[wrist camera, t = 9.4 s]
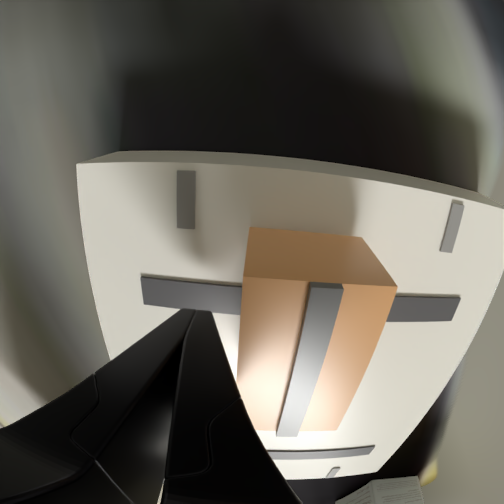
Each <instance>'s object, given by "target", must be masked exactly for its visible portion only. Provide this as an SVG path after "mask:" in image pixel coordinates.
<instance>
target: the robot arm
mask: <svg viewBox="0 0 504 504" xmlns="http://www.w3.org/2000/svg"><path fill="white" fill-rule="evenodd" d="M164 479H165V480H164ZM163 480H164V485H163V492H162V498H161V503H160V504H303V503H302V502H301V501H300V499H299V498H298V497H297V495H296V494H295V493H294V491H293V490H292V489H291V487H290V486H289V484H288V483H287V481H286V480H285V478H284V477H283V475H282V474H281V472H280V470H279V469H278V467H277V466H276V464H275V463H274V461H273V460H272V458H271V456H270V455H269V453H268V452H267V450H266V448H265V447H264V445H263V443H262V441H261V440H260V438H259V436H258V434H257V432H256V430H255V429H254V426H253V424H252V422H251V420H250V417H249V415H248V413H247V410H246V408H245V405H244V402H243V400H242V399H241V395H240V392H239V389H238V387H237V384H236V381H235V378H234V375H233V373H232V370H231V367H230V364H229V361H228V358H227V356H226V353H225V350H224V347H223V344H222V341H221V338H220V335H219V332H218V329H217V326H216V323H215V320H214V317H213V314H212V312H211V311H208V310H196V309H188V308H182V309H180V310H179V311H177V312H176V313H175V314H173V315H172V316H171V317H169V318H168V319H167V320H165V321H164V322H163V323H161V324H160V325H159V326H157V327H156V328H154V329H153V330H152V331H150V332H149V333H148V334H146V335H145V336H144V337H142V338H141V339H140V340H138V341H137V342H135V343H134V344H133V345H131V346H130V347H129V348H127V349H126V350H125V351H123V352H122V353H121V354H119V355H118V356H116V357H115V358H114V359H112V360H111V361H110V362H108V363H107V364H106V365H104V366H103V367H102V368H100V369H99V370H97V371H96V372H95V375H94V374H92V375H90V376H89V377H88V378H86V379H85V380H84V381H82V382H81V383H79V384H78V385H76V386H75V387H74V388H72V389H71V390H69V391H68V392H66V393H65V394H63V395H61V396H60V397H58V398H56V399H55V400H53V401H51V402H50V403H48V404H46V405H45V406H43V407H41V408H39V409H38V410H36V411H34V412H32V413H30V414H29V415H27V416H25V417H23V418H21V419H20V420H18V421H16V422H14V423H12V424H10V425H8V426H6V427H3V428H0V504H157V502H158V498H159V495H160V491H161V487H162V484H163Z"/></svg>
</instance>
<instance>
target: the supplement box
mask: <svg viewBox="0 0 504 504" xmlns="http://www.w3.org/2000/svg"><path fill="white" fill-rule="evenodd" d="M335 504H425V503H424V498H423V494H422V490H421V487H420V483H419V479H418V476H411V477H401V478H391V479H377V480H371V481H370V482H369V483H368V484H366V485H365V486H363V487H362V488H360V489H358V490H357V491H355V492H353V493H351V494H350V495H348V496H346V497H344V498H342V499H340V500H338V501H336V502H335Z"/></svg>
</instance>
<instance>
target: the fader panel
mask: <svg viewBox="0 0 504 504" xmlns="http://www.w3.org/2000/svg"><path fill="white" fill-rule="evenodd" d="M76 166H77V183H78V196H79V207H80V217H81V225H82V233H83V240H84V247H85V253H86V259H87V265H88V271H89V276H90V281H91V286H92V291H93V295H94V300H95V304H96V309H97V313H98V317H99V321H100V325H101V329H102V332H103V336H104V340H105V343H106V347H107V350H108V354H109V357H110V360H112V359H114V358H115V357H116V356H118V355H119V354H121V353H122V352H123V351H125V350H126V349H127V348H129V347H130V346H131V345H133V344H134V343H135V342H137V341H138V340H140V339H141V338H142V337H144V336H145V335H146V334H148V333H149V332H150V331H152V330H153V329H154V328H156V327H157V326H159V325H160V324H161V323H163V322H164V321H165V320H167V319H168V318H169V317H171V316H172V315H173V314H175V313H176V312H177V311H179V310H180V309H182V308H188V309H196V310H208V311H211V312H212V314H213V317H214V320H215V323H216V326H217V329H218V332H219V335H220V338H221V341H222V344H223V347H224V350H225V353H226V356H227V358H228V361H229V364H230V367H231V370H232V373H233V375H234V378H235V381H236V377H237V361H238V345H239V330H240V314H241V299H242V284H243V273H244V265H245V257H246V249H247V242H248V234H249V227H258V228H270V229H281V230H293V231H304V232H315V233H325V234H336V235H346V236H356V237H362V238H363V240H364V241H365V242H366V244H367V245H368V246H369V248H370V249H371V250H372V252H373V253H374V254H375V256H376V257H377V258H378V260H379V261H380V262H381V264H382V265H383V266H384V268H385V269H386V271H387V272H388V273H389V275H390V276H391V278H392V279H393V280H394V282H395V283H396V285H397V286H398V288H397V291H396V294H395V297H394V300H393V303H392V306H391V309H390V312H389V315H388V317H387V320H386V323H385V325H384V328H383V331H382V333H381V336H380V338H379V341H378V343H377V346H376V348H375V351H374V353H373V356H372V358H371V360H370V363H369V365H368V367H367V369H366V372H365V374H364V376H363V378H362V381H361V383H360V385H359V387H358V389H357V391H356V393H355V395H354V397H353V399H352V401H351V404H350V406H349V407H348V409H347V411H346V413H345V415H344V417H343V419H342V421H341V423H340V425H339V427H338V428H337V430H334V431H299V433H298V436H297V437H276V431H262V430H256V432H257V434H258V436H259V438H260V440H261V441H262V443H263V445H264V447H265V448H266V450H267V452H268V453H269V455H270V456H271V458H272V460H273V461H274V463H275V464H276V466H277V467H278V469H279V470H280V472H281V474H282V475H283V477H284V478H285V479H315V478H333V477H341V476H350V475H358V474H366V473H372V472H377V471H378V470H379V469H380V468H381V467H382V466H383V465H384V464H385V462H386V461H387V460H388V459H389V458H390V457H391V456H392V455H393V454H394V453H395V451H396V450H397V449H398V448H399V447H400V446H401V444H402V443H403V442H404V441H405V440H406V438H407V437H408V436H409V435H410V434H411V432H412V431H413V430H414V429H415V427H416V426H417V425H418V424H419V422H420V421H421V420H422V418H423V417H424V416H425V414H426V413H427V412H428V410H429V409H430V407H431V406H432V405H433V403H434V402H435V400H436V399H437V397H438V396H439V395H440V393H441V392H442V390H443V389H444V387H445V386H446V384H447V382H448V381H449V379H450V378H451V376H452V375H453V373H454V371H455V370H456V368H457V366H458V365H459V363H460V361H461V360H462V358H463V356H464V354H465V353H466V351H467V349H468V347H469V345H470V343H471V342H472V340H473V338H474V336H475V334H476V332H477V330H478V328H479V326H480V324H481V322H482V320H483V318H484V316H485V313H486V311H487V309H488V307H489V305H490V302H491V300H492V298H493V296H494V293H495V291H496V288H497V285H498V283H499V281H500V278H501V276H502V273H503V270H504V205H502V204H501V203H499V202H497V201H495V200H493V199H491V198H489V197H486V196H484V195H482V194H480V193H478V192H475V191H471V190H467V189H463V188H460V187H456V186H452V185H448V184H444V183H439V182H435V181H431V180H426V179H422V178H417V177H412V176H408V175H403V174H398V173H392V172H387V171H382V170H376V169H370V168H364V167H358V166H352V165H345V164H338V163H331V162H324V161H316V160H308V159H299V158H290V157H280V156H269V155H257V154H243V153H227V152H205V151H118V152H115V153H111V154H107V155H104V156H100V157H97V158H94V159H90V160H87V161H84V162H81V163H78V164H76Z"/></svg>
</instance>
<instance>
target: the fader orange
mask: <svg viewBox="0 0 504 504" xmlns="http://www.w3.org/2000/svg"><path fill="white" fill-rule="evenodd" d="M397 288H398V286H397V285H396V283H395V282H394V280H393V279H392V278H391V276H390V275H389V273H388V272H387V271H386V269H385V268H384V266H383V265H382V264H381V262H380V261H379V260H378V258H377V257H376V256H375V254H374V253H373V252H372V250H371V249H370V248H369V246H368V245H367V244H366V242H365V241H364V240H363V238H362V237H356V236H346V235H336V234H325V233H315V232H304V231H293V230H281V229H270V228H258V227H249V234H248V242H247V249H246V257H245V265H244V273H243V284H242V299H241V314H240V330H239V345H238V361H237V377H236V384H237V387H238V389H239V392H240V395H241V399H242V400H243V402H244V405H245V408H246V410H247V413H248V415H249V417H250V420H251V422H252V424H253V426H254V429H255V430H262V431H276V437H297V436H298V433H299V431H334V430H337V428H338V427H339V425H340V423H341V421H342V419H343V417H344V415H345V413H346V411H347V409H348V407H349V406H350V404H351V401H352V399H353V397H354V395H355V393H356V391H357V389H358V387H359V385H360V383H361V381H362V378H363V376H364V374H365V372H366V369H367V367H368V365H369V363H370V360H371V358H372V356H373V353H374V351H375V348H376V346H377V343H378V341H379V338H380V336H381V333H382V331H383V328H384V325H385V323H386V320H387V317H388V315H389V312H390V309H391V306H392V303H393V300H394V297H395V294H396V291H397Z"/></svg>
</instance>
